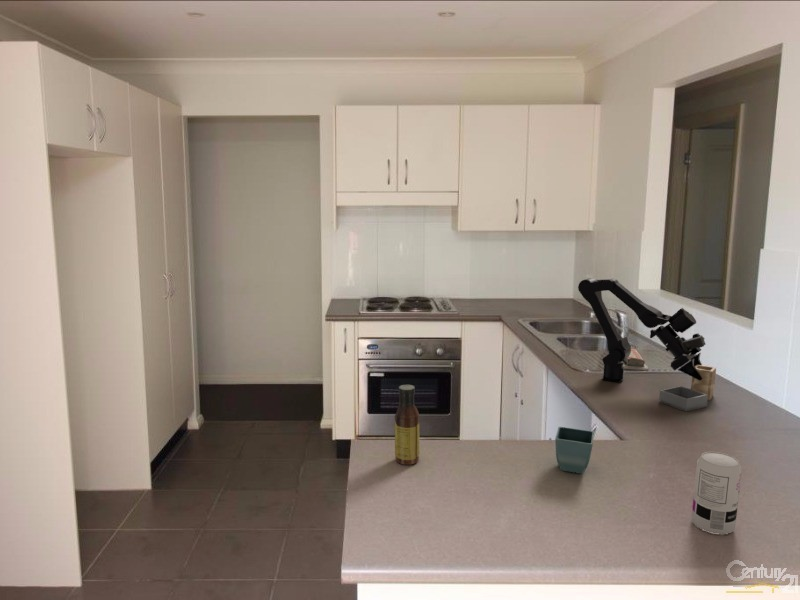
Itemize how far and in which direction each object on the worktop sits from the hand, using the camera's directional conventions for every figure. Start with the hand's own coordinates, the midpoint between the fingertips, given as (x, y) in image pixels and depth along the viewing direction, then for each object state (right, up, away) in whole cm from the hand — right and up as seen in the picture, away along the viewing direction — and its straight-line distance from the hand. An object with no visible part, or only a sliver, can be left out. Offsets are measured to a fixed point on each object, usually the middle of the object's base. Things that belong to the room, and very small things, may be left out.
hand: (703, 377), depth 213 cm
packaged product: (-10, 0, +40) cm, 42 cm away
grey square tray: (-10, -8, -7) cm, 15 cm away
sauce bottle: (-101, -15, -52) cm, 115 cm away
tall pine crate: (0, -7, +1) cm, 7 cm away
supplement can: (-37, -21, -81) cm, 92 cm away
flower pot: (-59, -16, -55) cm, 83 cm away
